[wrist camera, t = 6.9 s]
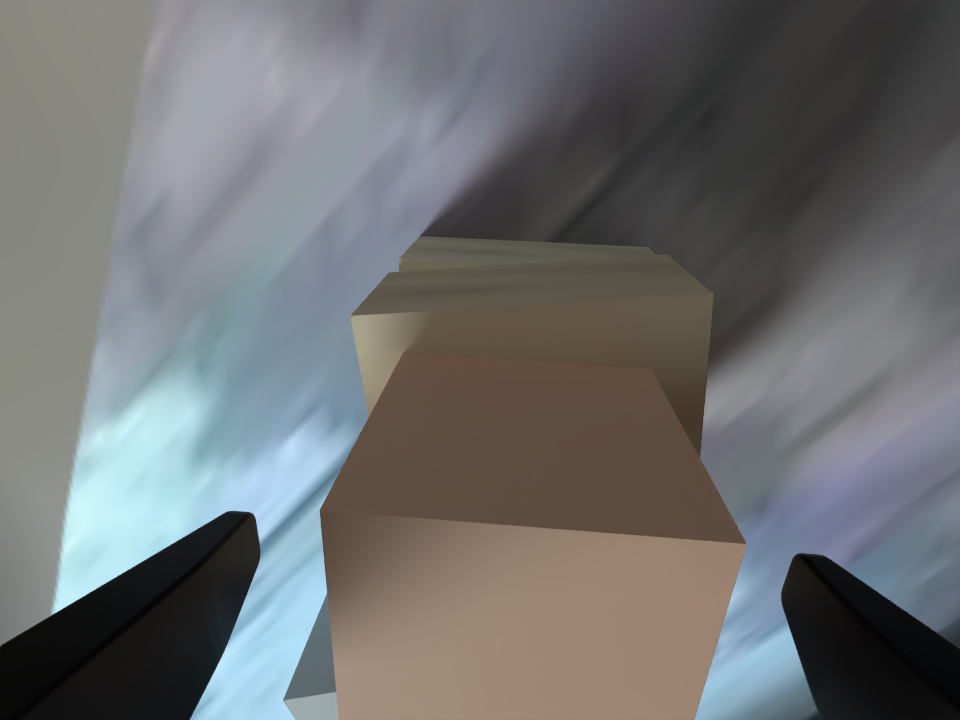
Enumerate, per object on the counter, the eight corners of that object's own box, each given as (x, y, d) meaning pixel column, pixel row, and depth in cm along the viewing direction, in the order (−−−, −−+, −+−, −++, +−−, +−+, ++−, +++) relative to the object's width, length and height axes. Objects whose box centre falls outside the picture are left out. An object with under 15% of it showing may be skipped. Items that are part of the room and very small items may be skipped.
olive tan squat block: (615, 440, 20) (635, 501, 16) (422, 427, 20) (404, 485, 17) (646, 245, 17) (676, 273, 14) (421, 234, 17) (398, 259, 14)
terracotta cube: (650, 369, 11) (747, 544, 6) (616, 562, 13) (669, 803, 8) (403, 352, 11) (319, 510, 6) (405, 545, 13) (343, 771, 8)
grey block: (478, 648, 24) (469, 773, 19) (374, 666, 25) (341, 789, 20) (440, 563, 22) (420, 678, 18) (330, 586, 23) (282, 700, 18)
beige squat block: (655, 489, 16) (689, 578, 13) (422, 495, 17) (399, 582, 14) (667, 253, 13) (714, 294, 10) (388, 272, 14) (350, 315, 11)
